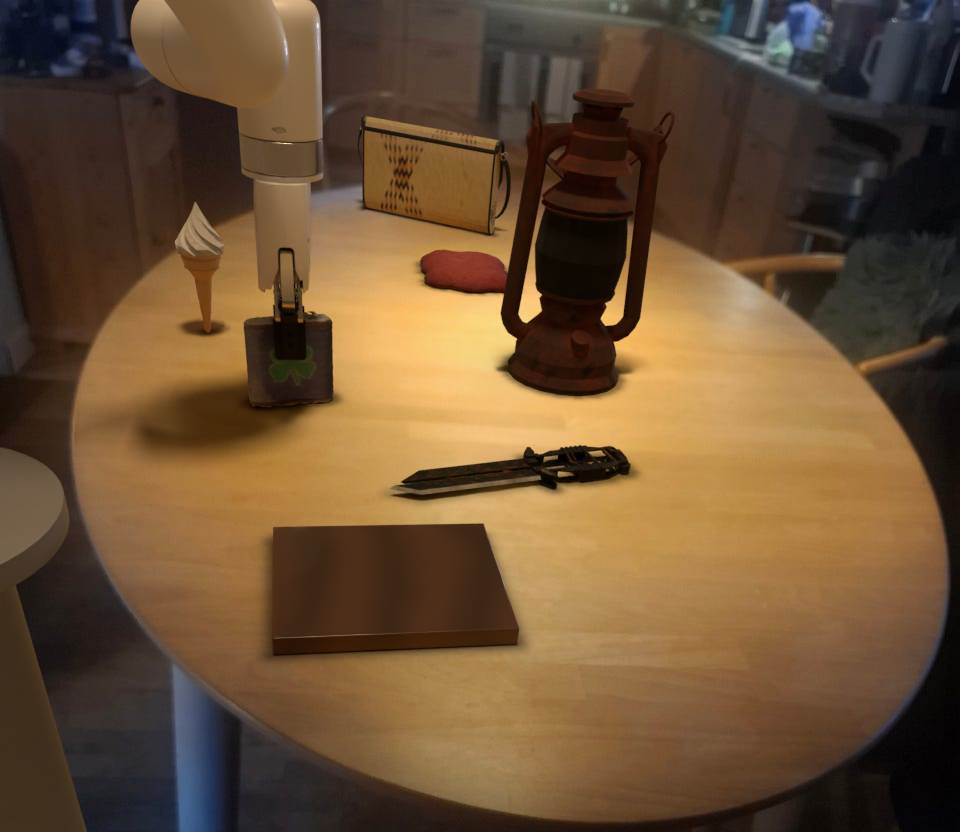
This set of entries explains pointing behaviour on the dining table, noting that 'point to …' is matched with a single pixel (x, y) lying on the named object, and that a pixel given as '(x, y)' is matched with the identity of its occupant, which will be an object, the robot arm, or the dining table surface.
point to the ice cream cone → (200, 257)
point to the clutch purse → (432, 173)
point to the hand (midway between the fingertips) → (290, 349)
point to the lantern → (581, 243)
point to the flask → (289, 364)
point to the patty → (464, 271)
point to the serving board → (387, 588)
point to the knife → (520, 470)
